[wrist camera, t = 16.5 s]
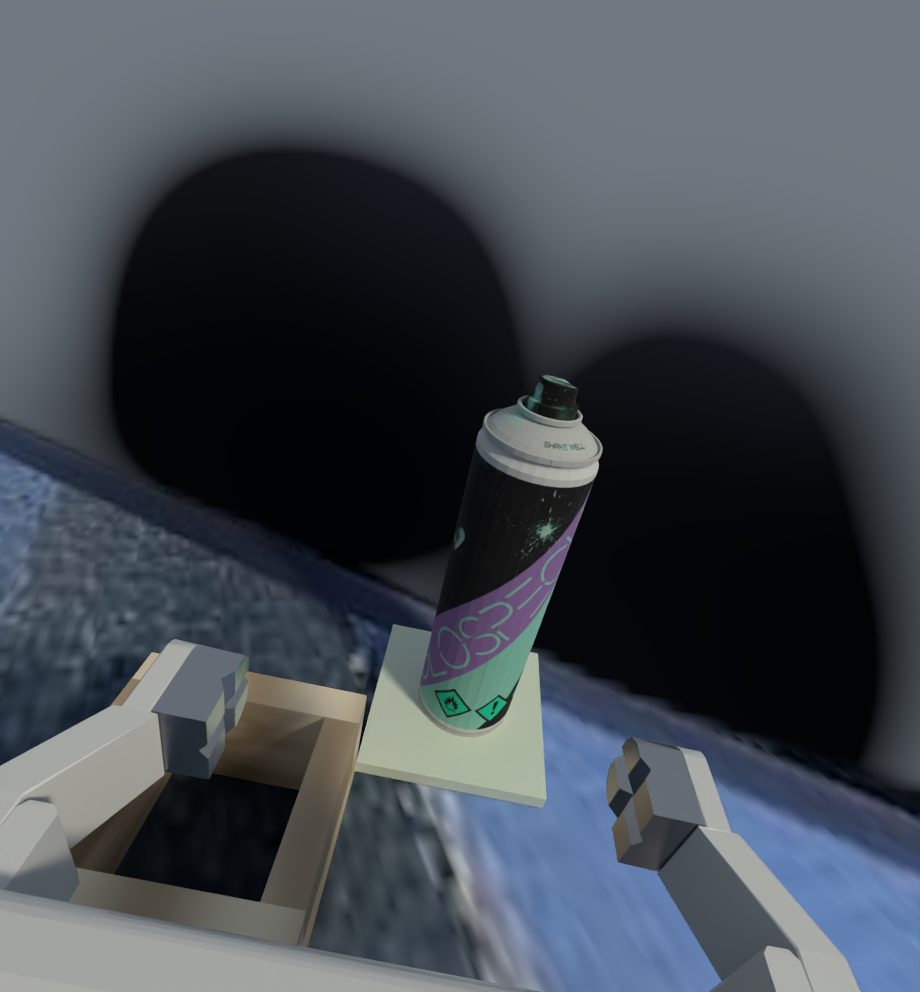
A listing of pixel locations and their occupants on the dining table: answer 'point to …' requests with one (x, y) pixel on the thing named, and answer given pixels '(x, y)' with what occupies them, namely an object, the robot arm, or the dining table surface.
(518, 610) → the spray can
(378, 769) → the sage pad
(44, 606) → the dining table surface
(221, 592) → the dining table surface
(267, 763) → the can holder
